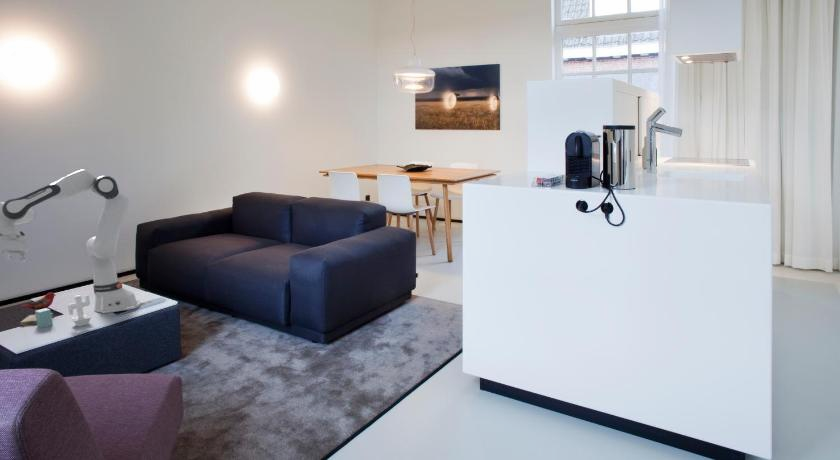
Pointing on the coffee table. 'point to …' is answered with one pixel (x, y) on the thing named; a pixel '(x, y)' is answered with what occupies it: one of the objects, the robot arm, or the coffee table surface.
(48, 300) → the decorative bird figurine
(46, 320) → the teal block
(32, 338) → the coffee table surface
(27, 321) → the beige square slab
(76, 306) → the figurine
